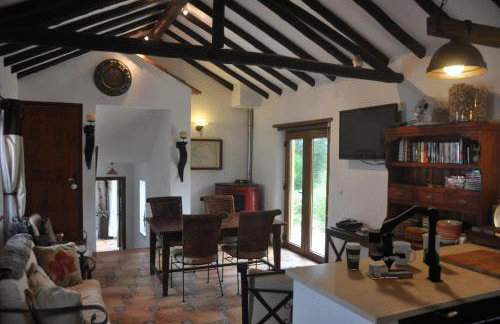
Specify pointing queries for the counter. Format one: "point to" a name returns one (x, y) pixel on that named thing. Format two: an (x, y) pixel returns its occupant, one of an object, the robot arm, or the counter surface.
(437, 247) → the milk carton
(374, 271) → the track
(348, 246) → the coffee cup
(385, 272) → the block
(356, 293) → the counter surface
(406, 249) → the mug
